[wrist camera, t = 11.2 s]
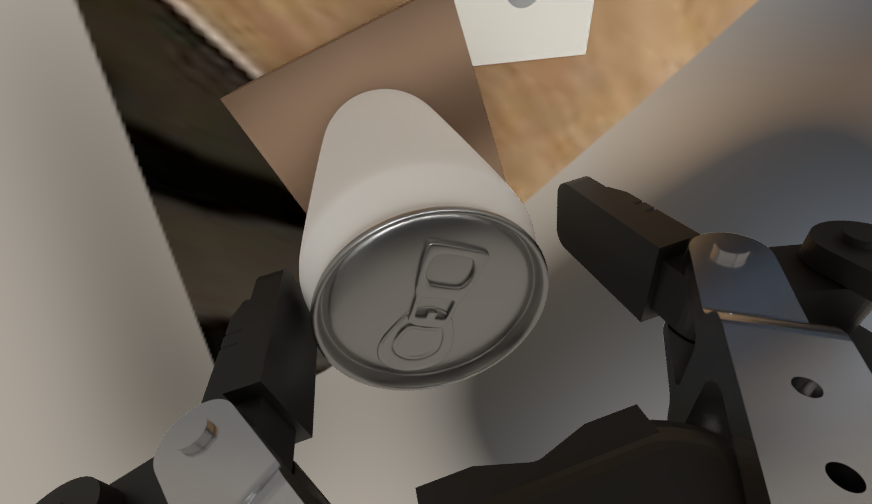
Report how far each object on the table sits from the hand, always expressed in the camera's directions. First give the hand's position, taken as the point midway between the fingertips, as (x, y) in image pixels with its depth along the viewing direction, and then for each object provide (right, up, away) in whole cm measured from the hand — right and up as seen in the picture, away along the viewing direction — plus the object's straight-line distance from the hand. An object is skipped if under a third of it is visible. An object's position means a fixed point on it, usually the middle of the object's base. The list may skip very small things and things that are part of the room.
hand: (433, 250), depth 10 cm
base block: (-3, +7, +11) cm, 14 cm away
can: (-3, +5, +8) cm, 10 cm away
